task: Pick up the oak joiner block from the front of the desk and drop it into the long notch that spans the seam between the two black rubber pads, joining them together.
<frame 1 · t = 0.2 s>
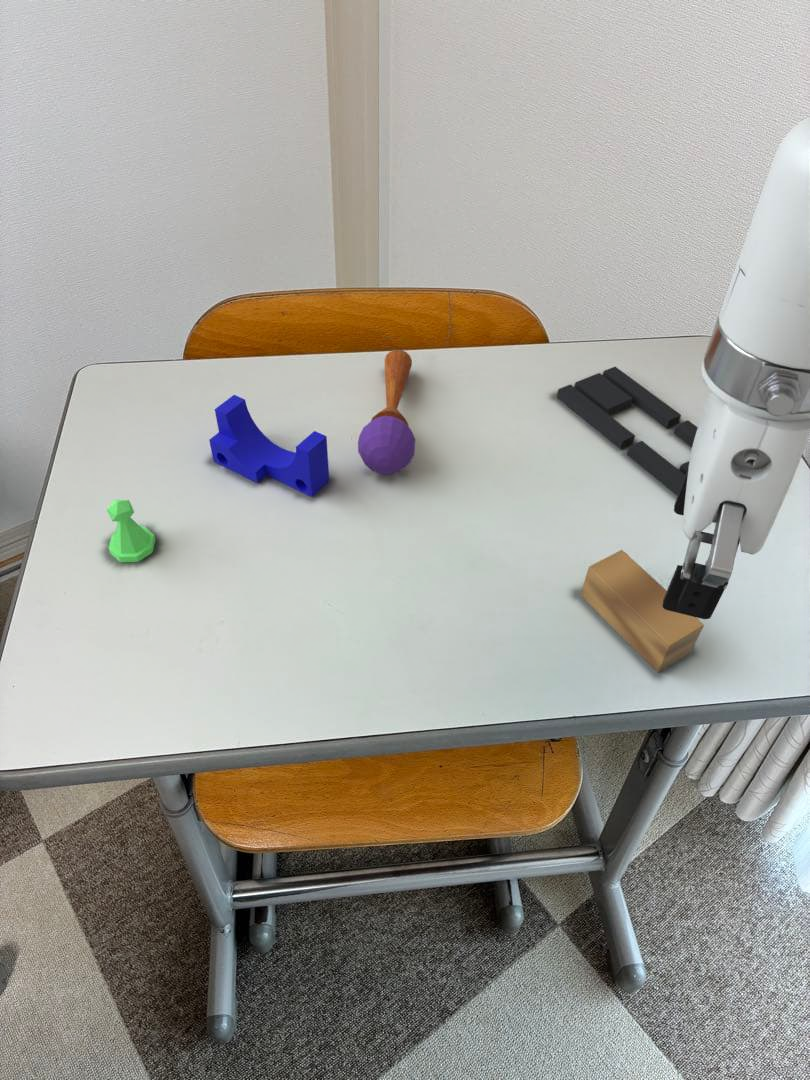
hand: (690, 560, 57), 14 cm above the table, tool pointing down, fingers open, 9 cm apart
joiner: (633, 622, 72), on the table
pad a: (692, 469, 86), on the table
pad b: (616, 410, 93), on the table
game piece: (133, 548, 77), on the table
kendama: (391, 426, 90), on the table
blue cradle bracket: (271, 472, 84), on the table
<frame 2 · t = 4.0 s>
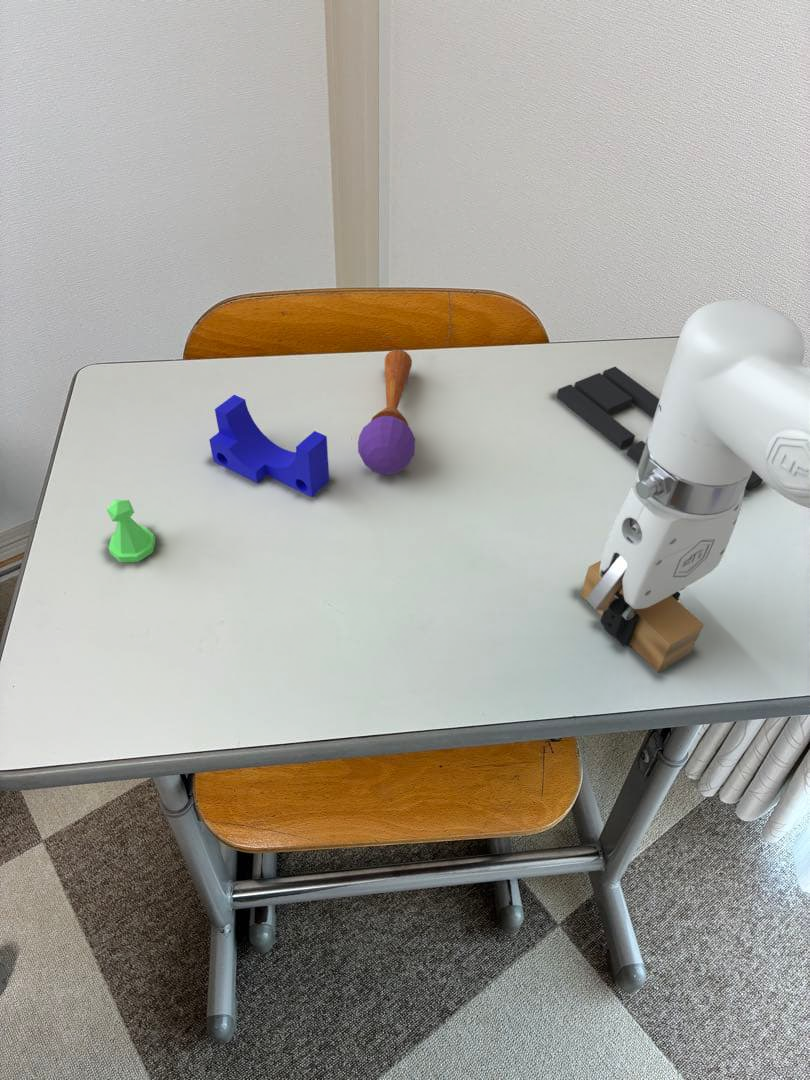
hand: (634, 620, 71), 0 cm above the table, tool pointing down, fingers closed on joiner, 4 cm apart
joiner: (633, 622, 72), on the table, touching gripper
everything else where it was.
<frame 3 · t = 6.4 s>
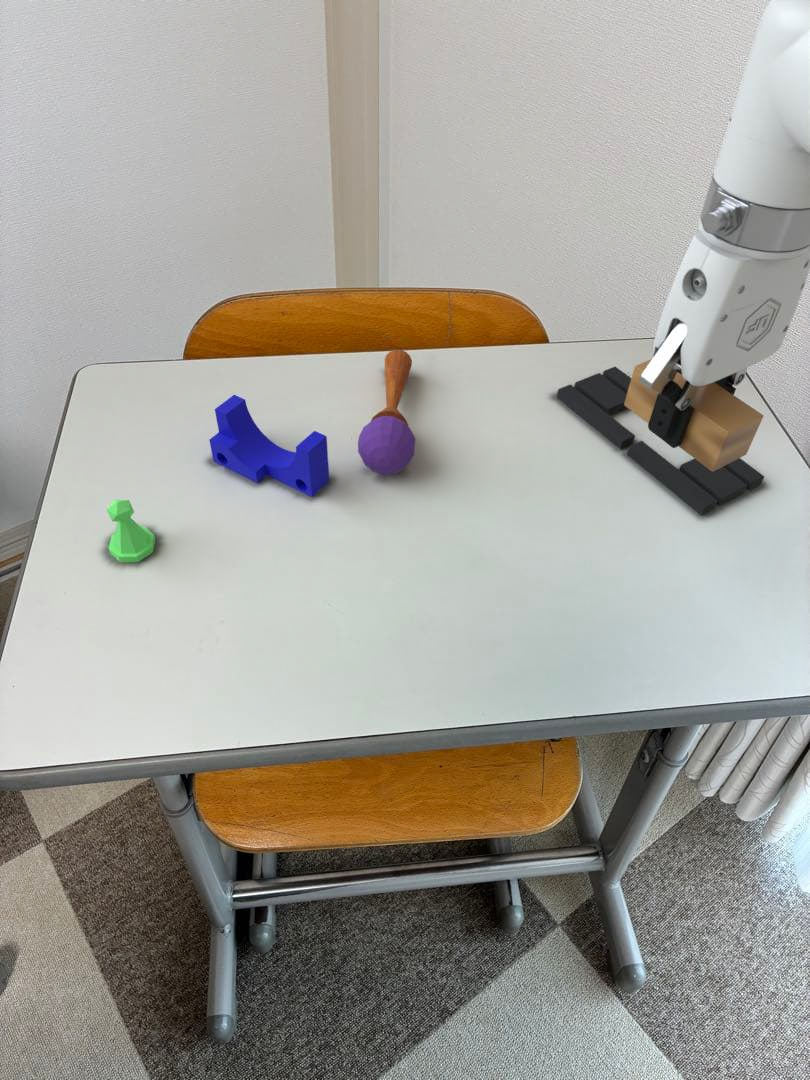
hand: (684, 426, 66), 16 cm above the table, tool pointing down, fingers closed on joiner, 4 cm apart
joiner: (683, 429, 66), point 15 cm above the table, touching gripper
everything else where it was.
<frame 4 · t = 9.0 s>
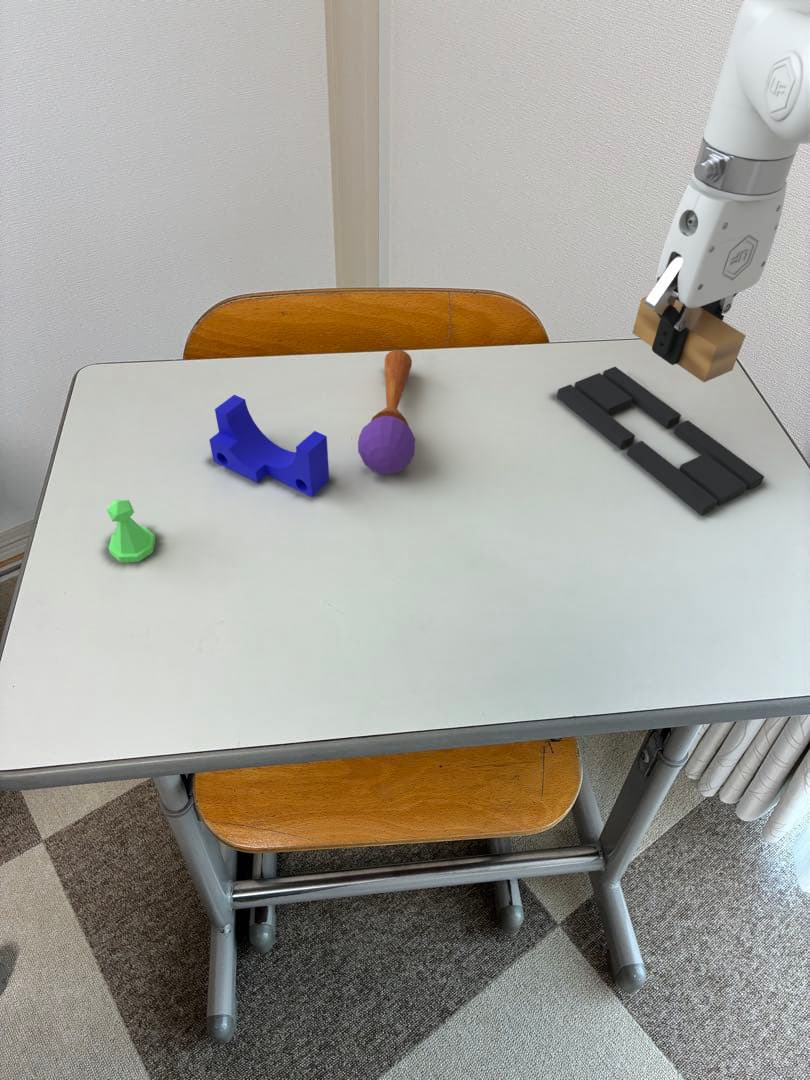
hand: (682, 349, 80), 12 cm above the table, tool pointing down, fingers closed on joiner, 4 cm apart
joiner: (680, 351, 81), point 12 cm above the table, touching gripper
everything else where it was.
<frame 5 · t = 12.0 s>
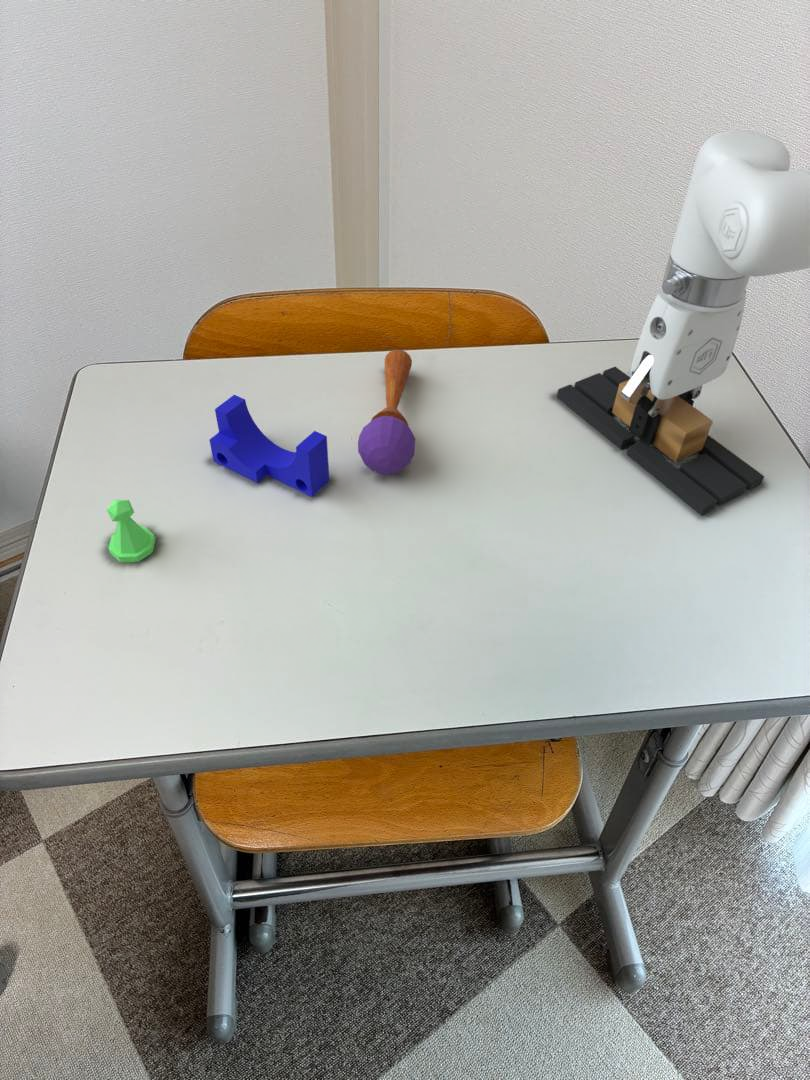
hand: (656, 429, 88), 1 cm above the table, tool pointing down, fingers closed on joiner, 4 cm apart
joiner: (655, 430, 88), point 1 cm above the table, touching gripper
everything else where it was.
when the fingers open (2 cm above the table, at t = 14.1 s): joiner drops 1 cm, on the table.
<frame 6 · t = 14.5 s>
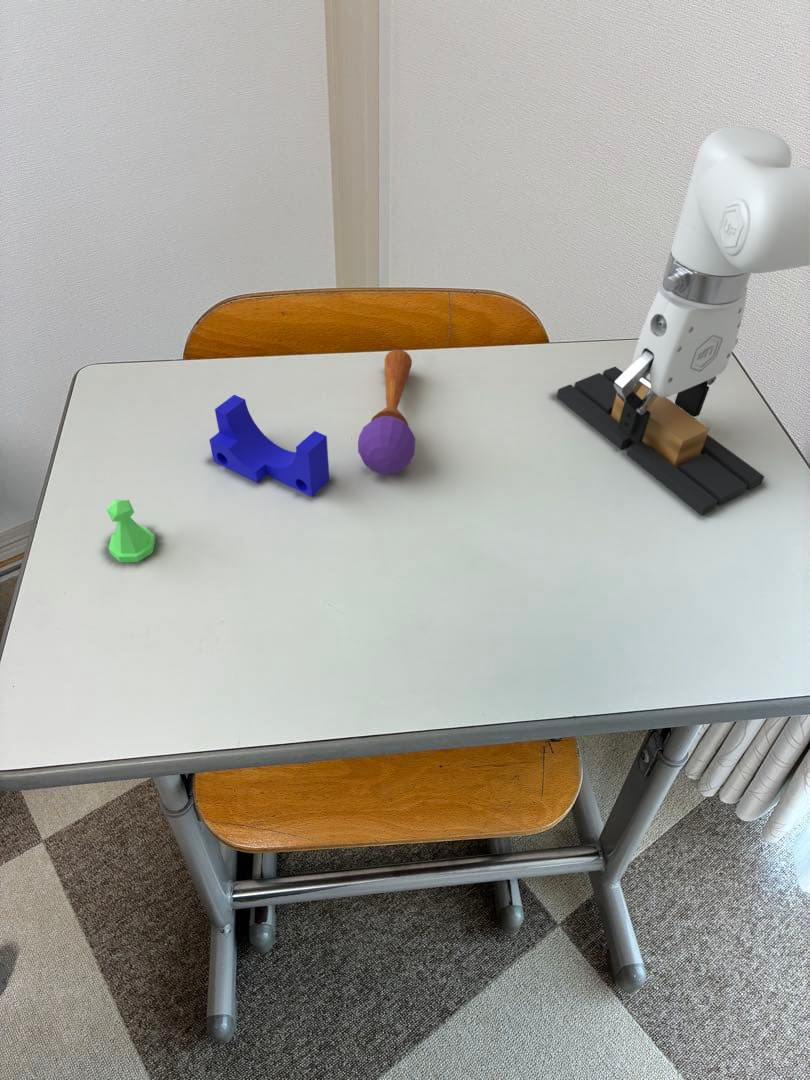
hand: (658, 421, 88), 2 cm above the table, tool pointing down, fingers open, 8 cm apart
joiner: (653, 438, 89), on the table
everything else where it was.
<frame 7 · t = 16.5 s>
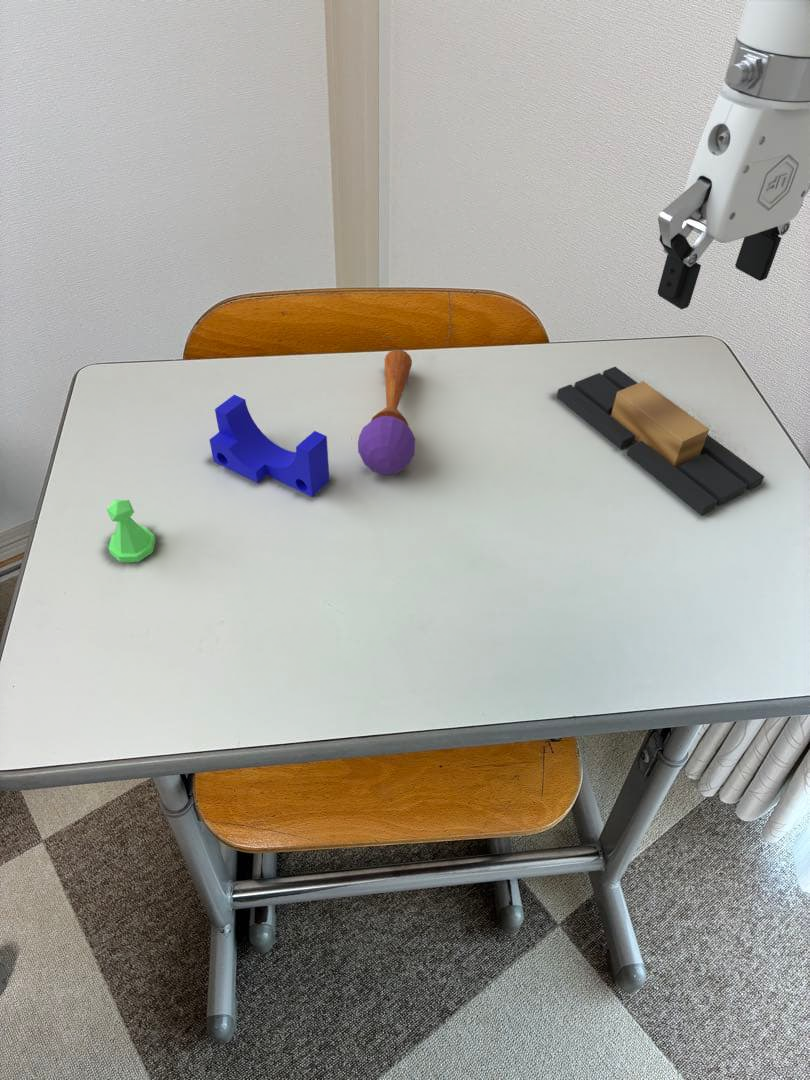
hand: (712, 287, 71), 21 cm above the table, tool pointing down, fingers open, 9 cm apart
nothing on the table moved.
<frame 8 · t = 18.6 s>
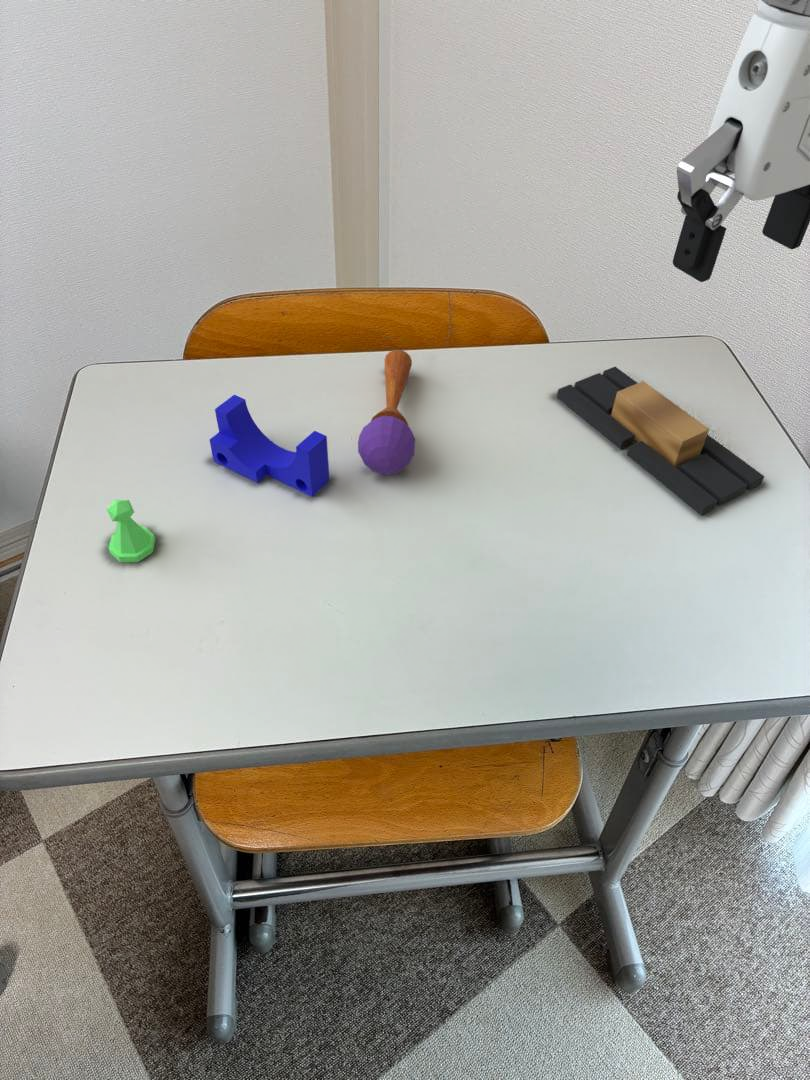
hand: (736, 256, 60), 28 cm above the table, tool pointing down, fingers open, 9 cm apart
nothing on the table moved.
at the end: joiner 0.0 cm from the target spot on the pad b, point 0.0 cm above the pad b's base; joiner tilted 0°; the gripper is holding nothing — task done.
